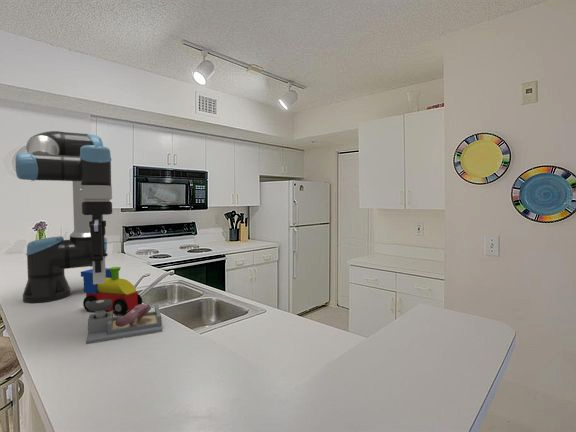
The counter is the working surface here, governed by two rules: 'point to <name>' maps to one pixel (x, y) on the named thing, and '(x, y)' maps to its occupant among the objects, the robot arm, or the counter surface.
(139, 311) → the video game controller
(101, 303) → the wheel cap
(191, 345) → the counter surface
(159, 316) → the grey tray
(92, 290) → the toy train
